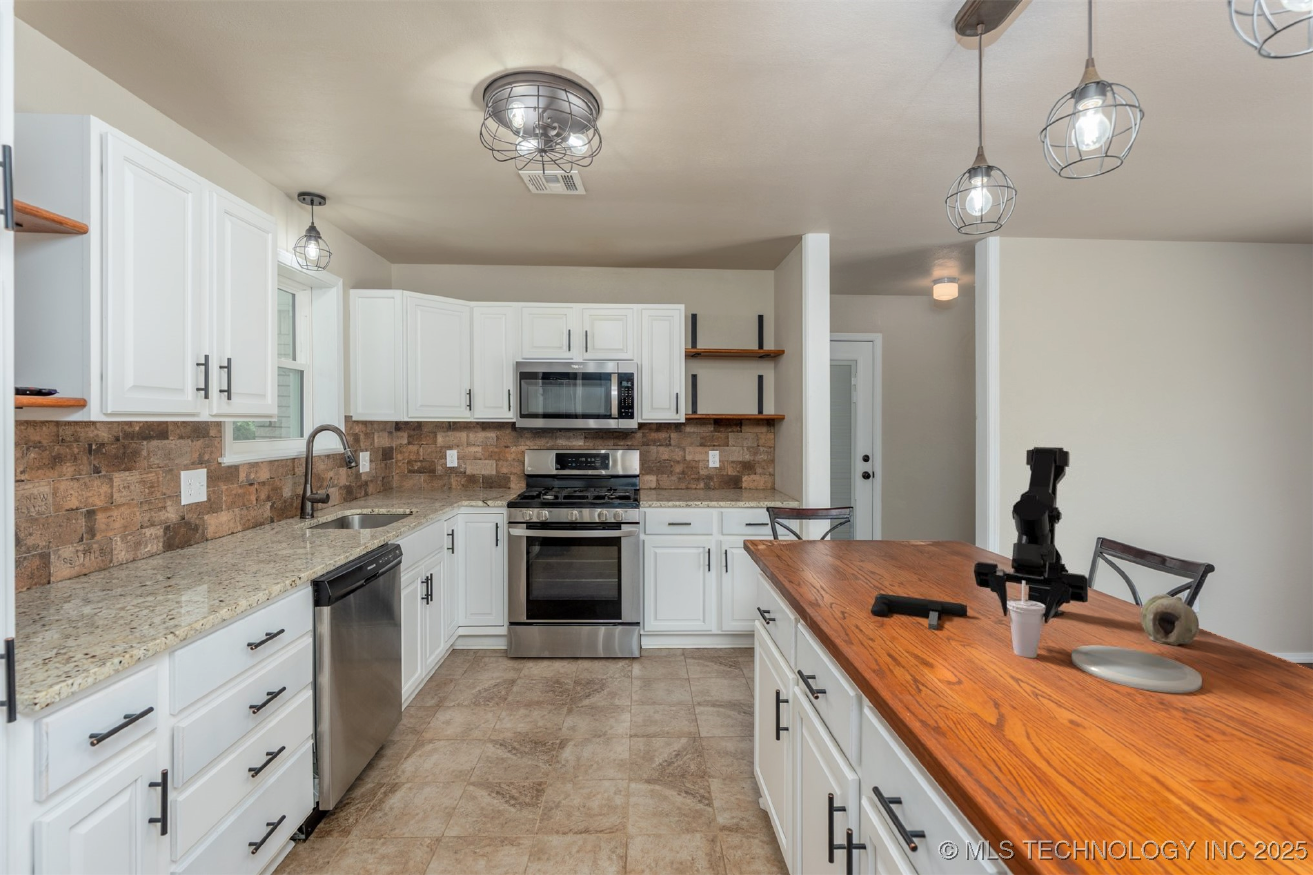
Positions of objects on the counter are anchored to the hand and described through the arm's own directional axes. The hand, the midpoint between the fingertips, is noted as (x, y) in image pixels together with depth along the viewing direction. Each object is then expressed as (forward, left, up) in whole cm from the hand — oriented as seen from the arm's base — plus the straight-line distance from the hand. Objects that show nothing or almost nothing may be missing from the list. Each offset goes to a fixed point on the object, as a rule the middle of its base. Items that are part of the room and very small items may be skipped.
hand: (1025, 618), depth 112 cm
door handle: (-1, -25, -8) cm, 27 cm away
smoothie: (-1, -1, -7) cm, 7 cm away
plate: (-11, +12, -7) cm, 18 cm away
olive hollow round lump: (-35, +7, -7) cm, 37 cm away
